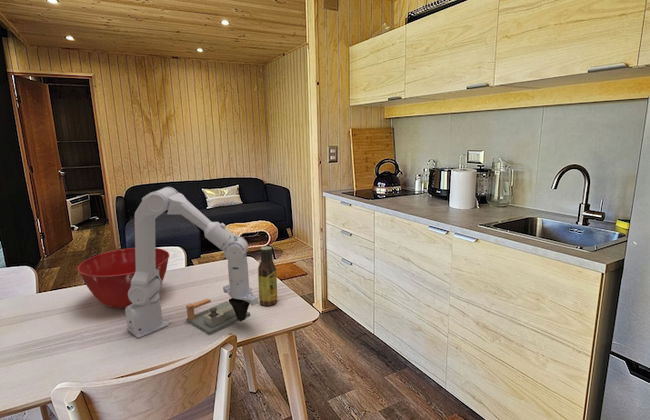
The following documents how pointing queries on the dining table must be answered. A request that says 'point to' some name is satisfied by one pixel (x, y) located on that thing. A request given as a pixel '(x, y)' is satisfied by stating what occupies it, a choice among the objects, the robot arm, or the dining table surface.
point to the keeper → (191, 307)
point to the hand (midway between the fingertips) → (241, 319)
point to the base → (216, 328)
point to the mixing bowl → (116, 274)
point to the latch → (219, 316)
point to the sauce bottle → (267, 278)
